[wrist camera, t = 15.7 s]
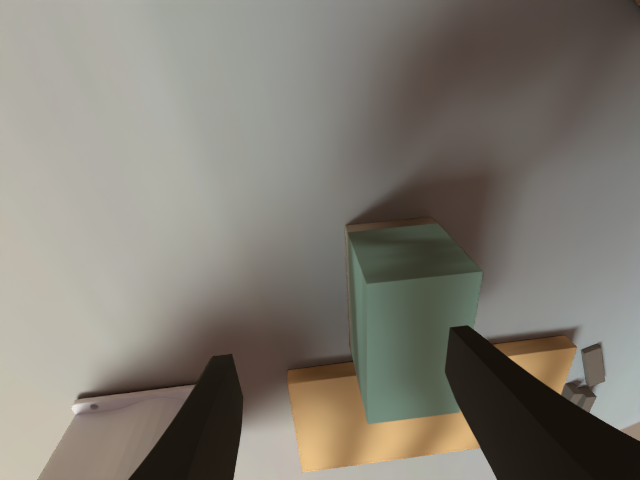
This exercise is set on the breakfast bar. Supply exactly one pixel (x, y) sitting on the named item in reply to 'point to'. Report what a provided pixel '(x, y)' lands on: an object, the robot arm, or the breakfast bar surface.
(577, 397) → the grey brown rectangular bar
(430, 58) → the breakfast bar surface
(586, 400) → the small grey brown block
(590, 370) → the small grey brown block
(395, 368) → the block
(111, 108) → the breakfast bar surface
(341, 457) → the oak board
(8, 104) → the breakfast bar surface
